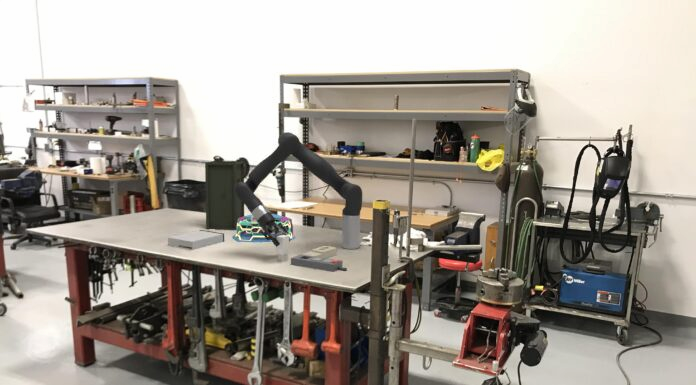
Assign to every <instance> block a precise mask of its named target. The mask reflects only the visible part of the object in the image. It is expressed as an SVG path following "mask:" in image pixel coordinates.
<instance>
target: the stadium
mask: <svg viewBox="0 0 696 385" xmlns="http://www.w3.org/2000/svg"><path fill="white" fill-rule="evenodd" d="M271 214H272V215H273V217H274V218H275V223H276V224H279V223H281V224H282V225H283V226H284V227H285V229H286V230H287V231H288V232H287V233H286V235H287V236H289V239H290V241H293V240H295V239H296V236H295V235H294V225H293V221H292V220H293V219H292V218H290V217H287V216H283V215H279V214H276V213H271ZM261 229H262V228H261V226H260V225H259V224H258V222H257V221H256V220H255V218H254V217H253V215H252V214H247V215H244V216H243V217H240V218H238V222H237V226H236V230H235V231H236V234H235V235H233V236H231V237H232V239H233V240H235V241H236V242H238V243H239V242H240V243H241V242H242V243H243V242H244V243H263V242H272V241H270V240H267V239H266V238H265V236H264V235H263V234H262V232H261ZM279 231H280V230H279ZM283 231H284V230H283ZM281 234H282V233H281ZM274 235H275V237H276V239H277V236H280V235H277V234H274ZM267 237H268V234H267ZM294 238H295V239H294ZM292 239H293V240H292Z"/></svg>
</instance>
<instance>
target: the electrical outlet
mask: <svg viewBox="0 0 696 385" xmlns="http://www.w3.org/2000/svg"><path fill="white" fill-rule="evenodd" d="M301 254H302V255H309V256H315V257H322V258H328V259H330V258H331V257H334V256H337V248H336V247H334V246H328V245H323V246H319V247H315V248H312V249H311V250H310V251H307V252H304V253H301Z"/></svg>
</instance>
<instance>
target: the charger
mask: <svg viewBox="0 0 696 385" xmlns="http://www.w3.org/2000/svg"><path fill="white" fill-rule="evenodd" d="M277 240H278V241H279V243H280V245H279V246H277V247H276V254H277V255H278V261H279V262H286V261H287V260H288V259H287V258H288V254H289V253H290V242H289V236H287V235H280V236H277Z"/></svg>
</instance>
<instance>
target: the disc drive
mask: <svg viewBox="0 0 696 385" xmlns="http://www.w3.org/2000/svg"><path fill="white" fill-rule="evenodd" d="M224 242H225V233H223V232H216V231H210V230H204V229H203V230H202V229H198V230H195V231H191V232H190V231H189V232H186V233H181V234H178V235H173V236H168V237H167V246H168V245H169V246H168V247H174V248H178V249H185V250H189V251H190V250H191V251H193V250H198V249H202V248H205V247H209V246H213V245H217V244H221V243H224Z"/></svg>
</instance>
